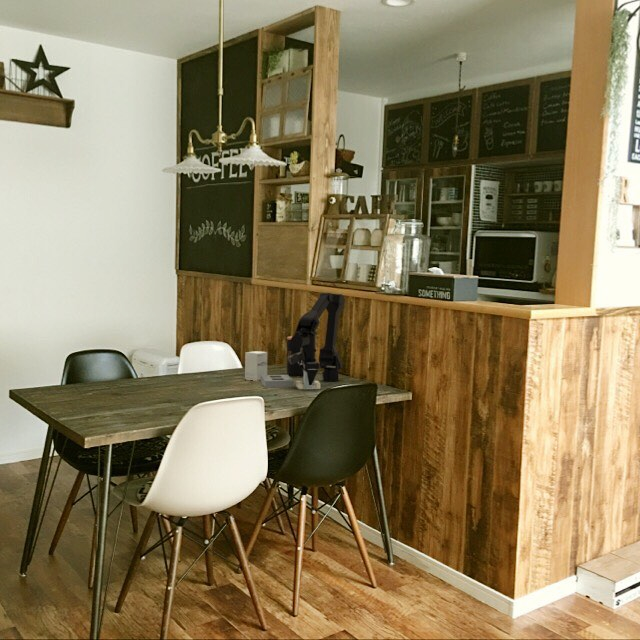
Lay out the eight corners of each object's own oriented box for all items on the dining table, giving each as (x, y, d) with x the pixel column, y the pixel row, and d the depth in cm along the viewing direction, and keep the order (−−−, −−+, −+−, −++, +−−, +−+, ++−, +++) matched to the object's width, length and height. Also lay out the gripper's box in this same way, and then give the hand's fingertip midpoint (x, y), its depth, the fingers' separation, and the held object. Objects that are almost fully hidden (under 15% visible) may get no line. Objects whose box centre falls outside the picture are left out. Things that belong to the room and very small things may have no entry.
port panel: (287, 382, 324) (287, 374, 324) (293, 388, 308) (293, 379, 308) (260, 383, 322) (260, 374, 321) (265, 389, 306) (265, 380, 306)
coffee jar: (284, 373, 350) (284, 336, 348) (305, 372, 353) (306, 335, 351) (290, 377, 339) (290, 338, 338) (312, 376, 343) (312, 338, 341)
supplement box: (256, 381, 326) (256, 353, 325) (244, 379, 331) (244, 352, 330) (267, 379, 332) (267, 351, 331) (255, 377, 337) (255, 350, 336)
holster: (317, 387, 312) (317, 380, 312) (320, 390, 305) (320, 383, 305) (296, 388, 310) (296, 381, 310) (299, 391, 303) (299, 383, 303)
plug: (311, 386, 309) (311, 367, 309) (313, 388, 306) (313, 368, 305) (303, 386, 309) (303, 367, 308) (304, 388, 305) (305, 368, 305)
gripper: (286, 344, 314) (286, 380, 315) (292, 349, 295) (292, 387, 297) (311, 343, 316) (311, 379, 317) (320, 348, 298) (319, 386, 299)
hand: (308, 383), depth 307 cm, fingers open, 9 cm apart
